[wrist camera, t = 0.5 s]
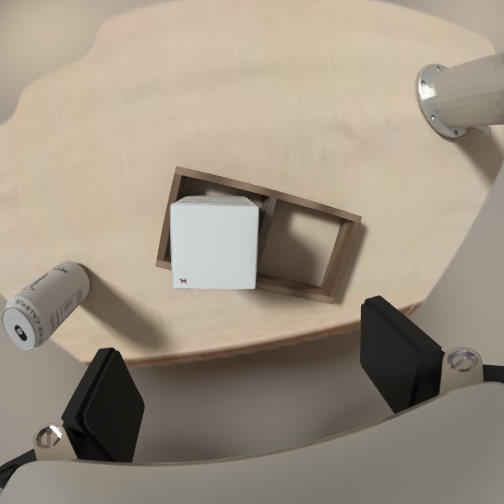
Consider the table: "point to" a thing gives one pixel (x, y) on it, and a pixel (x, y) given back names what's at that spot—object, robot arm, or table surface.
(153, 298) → the table surface
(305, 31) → the table surface
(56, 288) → the energy drink can
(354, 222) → the frame
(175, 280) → the supplement box
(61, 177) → the table surface
